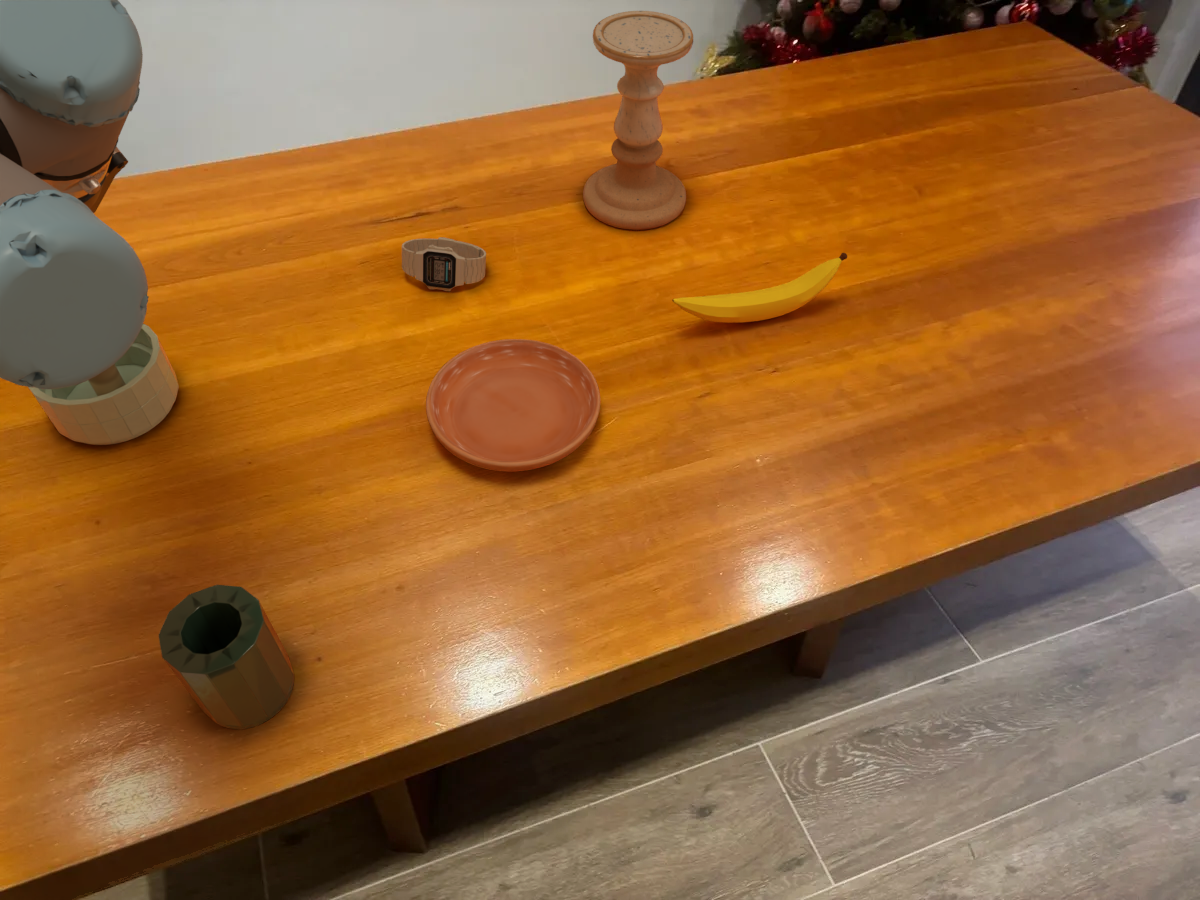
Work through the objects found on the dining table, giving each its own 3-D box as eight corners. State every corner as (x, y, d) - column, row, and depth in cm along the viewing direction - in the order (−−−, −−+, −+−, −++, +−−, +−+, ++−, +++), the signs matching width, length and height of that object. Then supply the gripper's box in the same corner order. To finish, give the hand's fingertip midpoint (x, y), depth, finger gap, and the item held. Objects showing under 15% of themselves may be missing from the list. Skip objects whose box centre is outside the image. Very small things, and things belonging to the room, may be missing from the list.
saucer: (627, 392, 87) (628, 370, 85) (549, 510, 78) (548, 489, 76) (485, 340, 92) (483, 318, 89) (395, 446, 82) (390, 424, 80)
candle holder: (613, 242, 102) (619, 71, 87) (565, 186, 109) (563, 19, 94) (705, 214, 106) (726, 45, 91) (653, 161, 113) (664, -3, 98)
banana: (663, 327, 93) (668, 279, 89) (827, 292, 98) (840, 244, 93) (673, 346, 92) (678, 298, 87) (840, 309, 96) (853, 261, 91)
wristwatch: (398, 289, 97) (391, 252, 93) (410, 253, 101) (403, 215, 97) (483, 294, 96) (479, 256, 92) (491, 257, 100) (488, 220, 97)
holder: (211, 744, 64) (167, 688, 57) (196, 666, 68) (152, 606, 61) (303, 707, 66) (271, 649, 59) (283, 634, 70) (251, 572, 63)
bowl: (60, 464, 80) (28, 420, 76) (51, 382, 87) (21, 336, 82) (189, 426, 84) (167, 381, 79) (172, 350, 90) (150, 304, 85)
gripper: (-38, 262, 53) (-39, 347, 72) (188, 146, 61) (134, 249, 80) (-137, 150, 51) (-111, 268, 70) (111, 45, 59) (74, 176, 78)
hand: (20, 258), depth 75 cm, fingers open, 3 cm apart
